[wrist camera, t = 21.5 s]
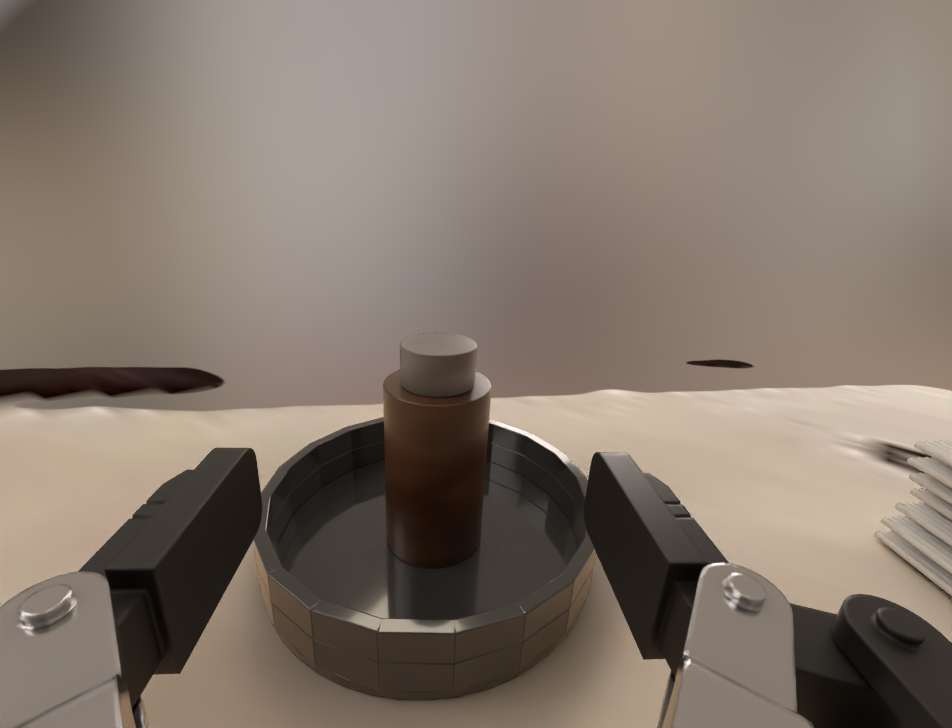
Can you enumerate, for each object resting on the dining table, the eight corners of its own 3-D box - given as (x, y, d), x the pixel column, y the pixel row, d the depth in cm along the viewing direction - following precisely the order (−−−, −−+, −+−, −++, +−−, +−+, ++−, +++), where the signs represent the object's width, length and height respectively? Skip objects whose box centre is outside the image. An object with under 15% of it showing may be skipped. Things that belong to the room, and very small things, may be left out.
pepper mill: (394, 578, 21) (392, 365, 18) (380, 510, 26) (375, 330, 22) (494, 556, 23) (511, 357, 19) (464, 496, 28) (473, 326, 24)
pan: (238, 772, 14) (222, 698, 13) (275, 475, 30) (269, 428, 28) (663, 631, 20) (679, 571, 19) (511, 442, 35) (514, 402, 34)
